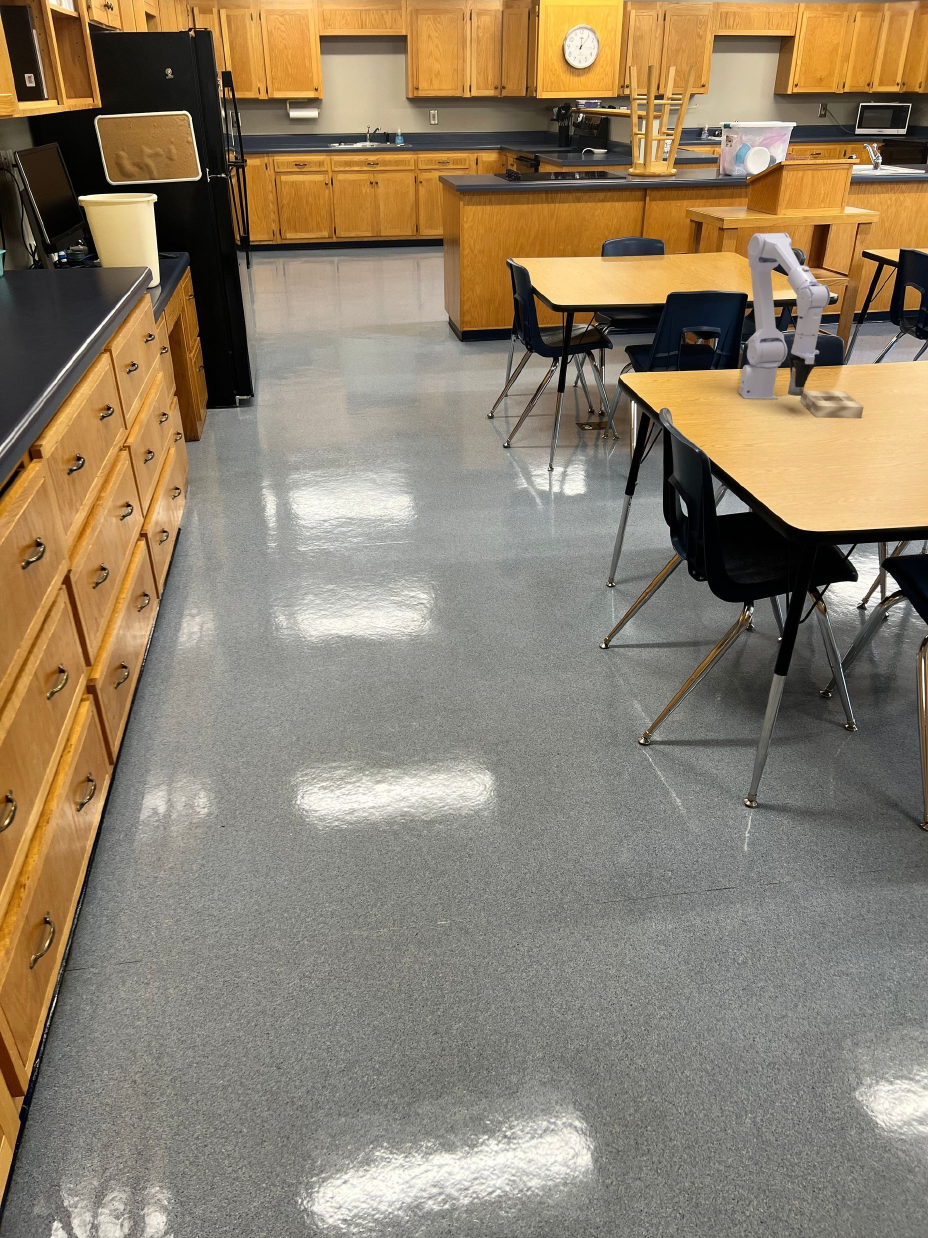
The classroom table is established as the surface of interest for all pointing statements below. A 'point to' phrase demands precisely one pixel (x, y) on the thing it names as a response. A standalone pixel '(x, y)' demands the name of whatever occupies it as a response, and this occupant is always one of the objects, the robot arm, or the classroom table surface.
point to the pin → (792, 389)
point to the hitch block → (831, 404)
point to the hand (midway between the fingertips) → (797, 384)
